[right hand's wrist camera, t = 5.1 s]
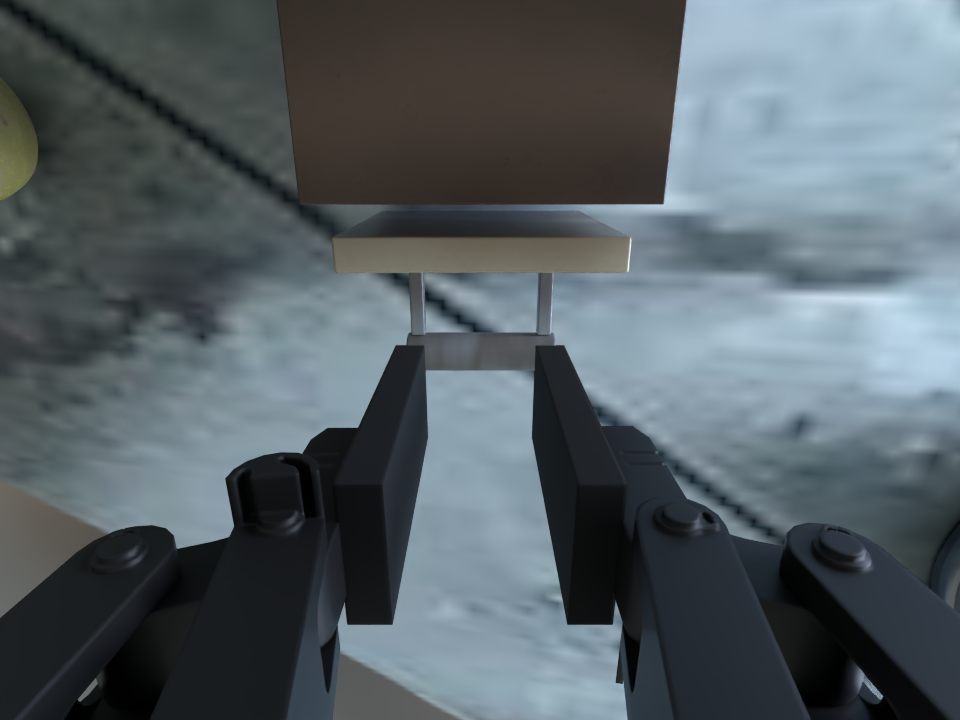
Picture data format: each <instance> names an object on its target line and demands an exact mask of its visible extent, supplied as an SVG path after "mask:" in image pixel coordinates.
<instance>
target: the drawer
mask: <svg viewBox="0 0 960 720" xmlns="http://www.w3.org/2000/svg"><path fill="white" fill-rule="evenodd" d="M631 240H632V239H631V237H629V236H627V235H625V234H623V233H621V232H619V231H617V230H615V229H613V228H611V227H610V226H608V225H606V224H604V223H602V222H600V221H598V220H596V219H594V218H592V217H590V216H588V215H586V214H584V213H582V212H580V211H382V212H380V213H378V214H376V215H375V216H373V217H371V218H369V219H367V220H365V221H363V222H361V223H359V224H357V225H355V226H353V227H351V228H349V229H348V230H346V231H344V232H342V233H340V234H338V235H336V236H334V237H332V247H333V258H334V269H335V272H337V273H409V289H410V311H411V332H412V333H409V334H408V337H407V345H425V370H535V345H556V340H555V336H554V333H551V319H552V298H553V277H554V273H626V272H628V270H629V260H630V250H631ZM424 273H538V299H537V326H536V331H537V333H425V332H426V317H425V290H424Z"/></svg>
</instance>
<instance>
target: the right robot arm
mask: <svg viewBox="0 0 960 720" xmlns="http://www.w3.org/2000/svg"><path fill="white" fill-rule="evenodd" d="M427 440H428V425H427V398H426V371H425V345H396V346H395V348H394V351H393V353H392V355H391V357H390V359H389V361H388V364H387V366H386V368H385V370H384V372H383V375H382V377H381V379H380V381H379V383H378V385H377V388H376V390H375V392H374V394H373V396H372V399H371V401H370V403H369V405H368V407H367V409H366V412H365V414H364V416H363V418H362V420H361V423H360V425H359V427H358V428H327V429H325V430H324V431H323V432H321V433H320V434H318V435H317V436H315V437H314V438H313V439H311V440H310V442H309V444H308V445H307V447H306V449H305V450H304V452H303V454H300V453H284V452H281V453H275V454H269V455H263V456H261V457H258V458H255V459H252V460H249V461H247V462H245V463H243V464H242V465H240V466H238V467H237V468H235V469H233V471H232V472H231V473H230V474H229V475H228V476H227V477H226V478H225V479H226V485H227V490H228V495H229V501H230V506H231V511H232V517H233V522H234V528H233V530H232V532H231V535H230V537H228V538H224V539H221V540H217V541H213V542H209V543H204V544H199V545H194V546H189V547H185V548H180V549H177V548H176V543H175V539H174V535H173V534H171V533H170V532H169V531H168V530H167V529H166V528H162V527H157V526H153V525H150V526H135V527H129V528H125V529H121V530H117V531H114V532H112V533H110V534H108V535H106V536H103V537H101V538H99V539H97V540H94V541H93V542H91V543H90V544H88V545H87V546H85V547H84V548H82V549H81V550H80V551H78V552H77V553H76V554H74V555H73V556H72V557H71V558H70V559H69V560H67V561H66V562H65V563H64V564H63V565H62V566H60V567H59V568H58V569H57V570H56V571H55V572H53V573H52V574H51V575H50V576H49V577H48V578H46V579H45V580H44V581H43V582H42V583H41V584H39V585H38V586H37V587H36V588H35V589H34V590H32V591H31V592H30V593H29V594H28V595H27V596H25V597H24V598H23V599H22V600H21V601H20V602H18V603H17V604H16V605H15V606H14V607H13V608H11V609H10V610H9V611H8V612H7V613H6V614H4V615H3V616H2V617H1V618H0V720H332V718H333V708H334V699H335V690H336V681H337V672H338V663H339V654H340V642H339V634H338V621H339V618H340V615H341V612H342V608H343V605H344V602H345V608H346V617H347V625H393V619H394V614H395V609H396V604H397V598H398V593H399V588H400V582H401V577H402V572H403V567H404V561H405V556H406V551H407V545H408V540H409V535H410V530H411V524H412V519H413V514H414V508H415V503H416V498H417V493H418V487H419V482H420V477H421V471H422V466H423V461H424V455H425V450H426V445H427ZM532 440H533V445H534V450H535V456H536V461H537V466H538V471H539V477H540V482H541V487H542V493H543V498H544V503H545V508H546V514H547V519H548V524H549V530H550V535H551V540H552V545H553V551H554V556H555V561H556V567H557V572H558V577H559V583H560V588H561V593H562V598H563V604H564V609H565V614H566V620H567V625H613V617H614V608H615V599H616V602H617V606H618V609H619V612H620V615H621V619H622V622H623V625H622V634H621V642H620V651H619V659H618V668H617V676H616V683H621V684H623V680H624V689H625V698H626V708H627V717H628V720H960V524H959V525H958V526H957V527H956V529H955V530H954V531H953V532H952V534H951V535H950V536H949V538H948V539H947V541H946V543H945V544H944V546H943V547H942V549H941V551H940V553H939V555H938V558H937V560H936V563H935V566H934V569H933V573H932V579H931V589H929V588H928V587H927V586H926V585H925V584H924V583H922V582H921V581H920V580H919V579H918V578H917V577H915V576H914V575H913V574H912V573H911V572H909V571H908V570H907V569H906V568H905V567H904V566H902V565H901V564H900V563H899V562H898V561H897V560H895V559H894V558H893V557H892V556H891V555H889V554H888V553H887V552H886V551H885V550H884V549H882V548H881V547H879V546H878V545H876V544H875V543H873V542H872V541H870V540H869V539H867V538H865V537H863V536H861V535H858V534H856V533H854V532H852V531H850V530H848V529H845V528H842V527H836V526H834V525H828V524H817V523H806V524H801V525H797V526H794V527H793V528H792V529H791V530H790V531H789V532H788V533H787V535H786V539H785V543H784V547H782V546H777V545H772V544H768V543H763V542H758V541H753V540H748V539H744V538H741V537H737V536H733V535H731V534H729V532H728V529H727V527H726V525H725V524H724V522H723V521H722V520H721V518H720V517H719V516H718V515H717V514H716V513H714V512H713V511H712V510H710V509H709V508H707V507H706V506H704V505H701V504H699V503H696V502H694V501H691V500H689V499H687V498H686V497H685V495H684V494H683V492H682V490H681V489H680V487H679V485H678V484H677V482H676V481H675V479H674V477H673V476H672V474H671V472H670V471H669V469H668V468H667V466H666V465H664V461H663V459H662V458H661V456H660V454H658V451H657V450H656V448H655V446H654V445H653V443H652V441H651V440H650V438H649V437H647V436H646V435H644V434H643V433H642V432H640V431H639V430H637V429H636V428H634V427H633V426H601V425H600V423H599V420H598V418H597V416H596V414H595V412H594V410H593V407H592V405H591V403H590V401H589V399H588V396H587V394H586V392H585V390H584V388H583V386H582V383H581V381H580V379H579V377H578V375H577V372H576V370H575V368H574V366H573V364H572V362H571V359H570V357H569V355H568V353H567V351H566V348H565V346H564V345H535V371H534V398H533V424H532ZM865 675H866V677H867V678H868V679H869V680H870V681H871V682H872V684H873V685H874V686H875V687H876V688H877V689H878V691H879V692H880V693H881V694H882V695H883V698H882V700H880V699H878V698H877V697H876V696H875V695H874V694H873V693H872V692H871V691H870V690H869V688H868V687H867V686H866V685H865V684H864V682H863V679H864V676H865ZM95 678H96V679H97V682H98V684H97V685H96V687H95V688H94V689H93V690H92V691H91V693H90V694H89V695H88V696H87V697H85V698H84V699H83V700H82V701H81V702H79V701H78V698H79V697H80V696H81V695H82V693H83V692H84V691H85V690H86V689H87V687H88V686H89V685H90V684H91V683H92V682H93V680H94V679H95Z"/></svg>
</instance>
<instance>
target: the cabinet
mask: <svg viewBox="0 0 960 720" xmlns="http://www.w3.org/2000/svg"><path fill="white" fill-rule="evenodd" d="M277 8H278V17H279V26H280V35H281V44H282V53H283V62H284V71H285V80H286V89H287V98H288V107H289V116H290V125H291V134H292V143H293V152H294V161H295V170H296V179H297V188H298V196H299V203H300V204H664V201H665V193H666V184H667V175H668V166H669V157H670V149H671V140H672V131H673V122H674V113H675V105H676V96H677V87H678V78H679V69H680V61H681V52H682V43H683V34H684V25H685V17H686V8H687V0H277Z"/></svg>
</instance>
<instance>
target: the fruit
mask: <svg viewBox="0 0 960 720" xmlns="http://www.w3.org/2000/svg"><path fill="white" fill-rule="evenodd" d="M37 161H38V142H37V135H36V132H35V129H34V126H33V123H32V121H31V118H30V116H29V115H28V113H27V111H26V109H25V107H24V106H23V104H22V102H21V101H20V99H19V98H18V96H17V95H16V94H15V93H14V91H13V90H12V89H11V88H10V86H9V85H8V84H7V83H6V82H5V81H4V80H3V79H2V78H1V77H0V201H1V200H3V199H5V198H7V197H9V196H11V195H13V194H14V193H16V192H17V191H18V190H19V189H21V188H22V187H23V186H24V185H25V184H26V183H27V182H28V181H29V180H30V178H31V177H32V175H33V173H34V171H35V169H36V165H37Z"/></svg>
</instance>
